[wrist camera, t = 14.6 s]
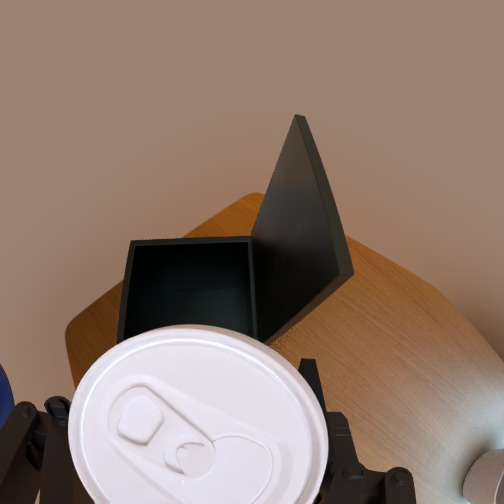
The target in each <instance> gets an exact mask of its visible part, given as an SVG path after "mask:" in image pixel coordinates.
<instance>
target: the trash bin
mask: <svg viewBox="0 0 504 504" xmlns="http://www.w3.org/2000/svg"><path fill="white" fill-rule="evenodd" d="M188 324H193V325H208V326H215V327H220V328H224V329H228V330H232V331H235V332H238V333H241V334H244V335H246V336H249V337H251V338H253V339H255V340H257V341H258V326H257V311H256V297H255V282H254V267H253V252H252V238H251V236H230V237H201V238H176V239H153V240H132V241H131V242H130V247H129V252H128V257H127V263H126V269H125V275H124V282H123V289H122V296H121V304H120V312H119V322H118V332H117V345H118V344H119V343H121V342H123V341H125V340H127V339H129V338H132V337H134V336H137V335H140V333H141V334H142V333H145V332H148V331H151V330H154V329H158V328H162V327H167V326H174V325H188Z"/></svg>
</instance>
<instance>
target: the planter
mask: <svg viewBox="0 0 504 504" xmlns="http://www.w3.org/2000/svg"><path fill="white" fill-rule="evenodd" d="M463 496H464V498H465V499H466V500H467V501H468V502H470V503H472V504H504V449H497V450H493V451H489V452H487V453H485V454H483V455H482V456H481V457H480V458H478V459H477V460H476V462H475V463H474V464H473V465H472V467H471V468H470V470H469V472H468V474H467V476H466V478H465V481H464V485H463Z"/></svg>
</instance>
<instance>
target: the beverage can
mask: <svg viewBox="0 0 504 504" xmlns="http://www.w3.org/2000/svg"><path fill="white" fill-rule="evenodd" d="M68 438H69V446H70V452H71V456H72V459H73V463H74V466H75V468H76V471H77V473H78V476H79V478H80V480H81V482H82V483H83V485H84V487H85V489H86V490H87V492H88V493H89V495H90V496H91V498H92V499H93V500H94V501H95V503H96V504H312V502H313V501H314V499H315V497H316V495H317V493H318V490H319V488H320V485H321V482H322V479H323V476H324V473H325V469H326V464H327V458H328V433H327V427H326V422H325V418H324V415H323V412H322V409H321V407H320V404H319V402H318V400H317V398H316V396H315V394H314V393H313V391H312V389H311V388H310V386H309V385H308V383H307V382H306V380H305V379H304V378H303V377H302V375H301V374H300V373H299V372H298V371H297V370H296V369H295V368H294V367H293V366H292V365H291V364H290V363H289V362H288V361H287V360H286V359H285V358H283V357H282V356H281V355H280V354H278V353H277V352H275V351H274V350H273V349H271V348H270V347H268V346H266V345H265V344H263V343H261V342H259V341H257V340H255V339H253V338H251V337H249V336H246V335H244V334H241V333H238V332H235V331H232V330H228V329H224V328H220V327H215V326H208V325H193V324H188V325H174V326H167V327H162V328H158V329H154V330H151V331H148V332H145V333H142V334H140V335H137V336H134V337H132V338H129V339H127V340H125V341H123V342H121V343H119V344H118V345H116V346H114V347H113V348H111V349H110V350H109V351H107V352H106V353H105V354H103V355H102V356H101V357H100V358H99V359H98V360H97V361H96V362H95V363H94V364H93V365H92V366H91V367H90V369H89V370H88V371H87V372H86V374H85V375H84V377H83V378H82V380H81V382H80V384H79V385H78V388H77V390H76V392H75V395H74V397H73V401H72V404H71V408H70V413H69V421H68Z"/></svg>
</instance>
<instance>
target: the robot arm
mask: <svg viewBox="0 0 504 504" xmlns="http://www.w3.org/2000/svg"><path fill="white" fill-rule="evenodd" d="M140 334H141V333H140ZM298 372H299V373H300V374H301V375H302V377H303V378H304V379H305V380H306V382H307V383H308V385H309V386H310V388H311V389H312V391H313V393H314V394H315V396H316V398H317V400H318V402H319V404H320V407H321V409H322V412H323V415H324V418H325V422H326V427H327V433H328V458H327V464H326V469H325V473H324V476H323V479H322V482H321V485H320V492H319V493H318V494H317V495H316V497H315V499H314V503H313V504H416V496H415V489H414V482H413V477H412V474H411V473H410V472H409V471H408V470H407V469H405V468H403V467H395V468H392V469H390V470H389V471H388V472H387V473H386V472H377V471H371V470H368V469H366V468H365V467H364V466H363V465H362V464H361V463H359V461H358V459H357V455H356V451H355V447H354V443H353V439H352V436H351V432H350V429H349V424H348V421H347V419H346V417H345V416H344V415H343V414H342V413H341V412H327V411H326V406H325V401H324V397H323V392H322V387H321V383H320V378H319V374H318V369H317V365H316V361H315V359H304V358H301V362H300V366H299V369H298ZM71 404H72V402H71V403H70V402H69V400H68V399H66V398H65V397H61V396H54V397H51V398H49V399H48V400H46V402H45V403H44V406H45V408H46V410H47V412H48V413H45V412H41V411H37V409H36V407H35V405H34V404H32V403H31V402H27V401H23V402H20V403H18V404H17V405H16V406H15V407H14V408H13V410H12V411H11V413H10V415H9V416H8V418H7V419H6V421H5V423H4V424H3V426H2V428H1V429H0V504H34V503H35V500H36V498H37V495H38V492H39V489H40V501H39V504H94V500H93V499H92V498H91V496H90V495H89V493H88V492H87V490H86V489H85V487H84V485H83V483H82V482H81V480H80V478H79V476H78V473H77V471H76V468H75V466H74V463H73V459H72V456H71V452H70V446H69V438H68V421H69V413H70V408H71ZM0 417H1V408H0Z"/></svg>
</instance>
